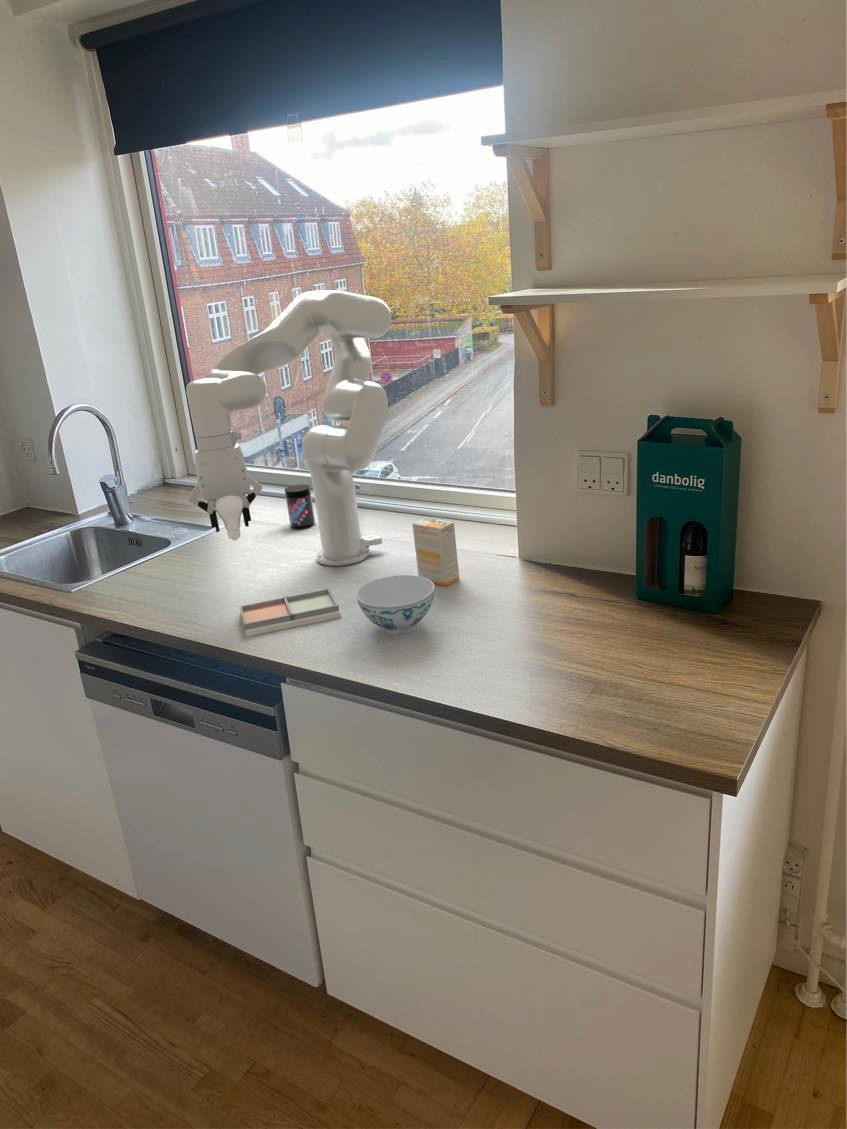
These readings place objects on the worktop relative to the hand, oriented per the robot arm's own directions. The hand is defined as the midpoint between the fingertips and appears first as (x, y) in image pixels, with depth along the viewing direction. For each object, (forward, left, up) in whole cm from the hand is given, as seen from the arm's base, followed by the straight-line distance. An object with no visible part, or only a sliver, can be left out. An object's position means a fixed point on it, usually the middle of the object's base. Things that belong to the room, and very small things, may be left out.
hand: (232, 526), depth 180 cm
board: (-8, +12, -17) cm, 22 cm away
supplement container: (-20, -46, -17) cm, 53 cm away
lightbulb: (0, 0, -3) cm, 3 cm away
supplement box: (-41, +9, -17) cm, 45 cm away
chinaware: (-27, +28, -17) cm, 42 cm away
